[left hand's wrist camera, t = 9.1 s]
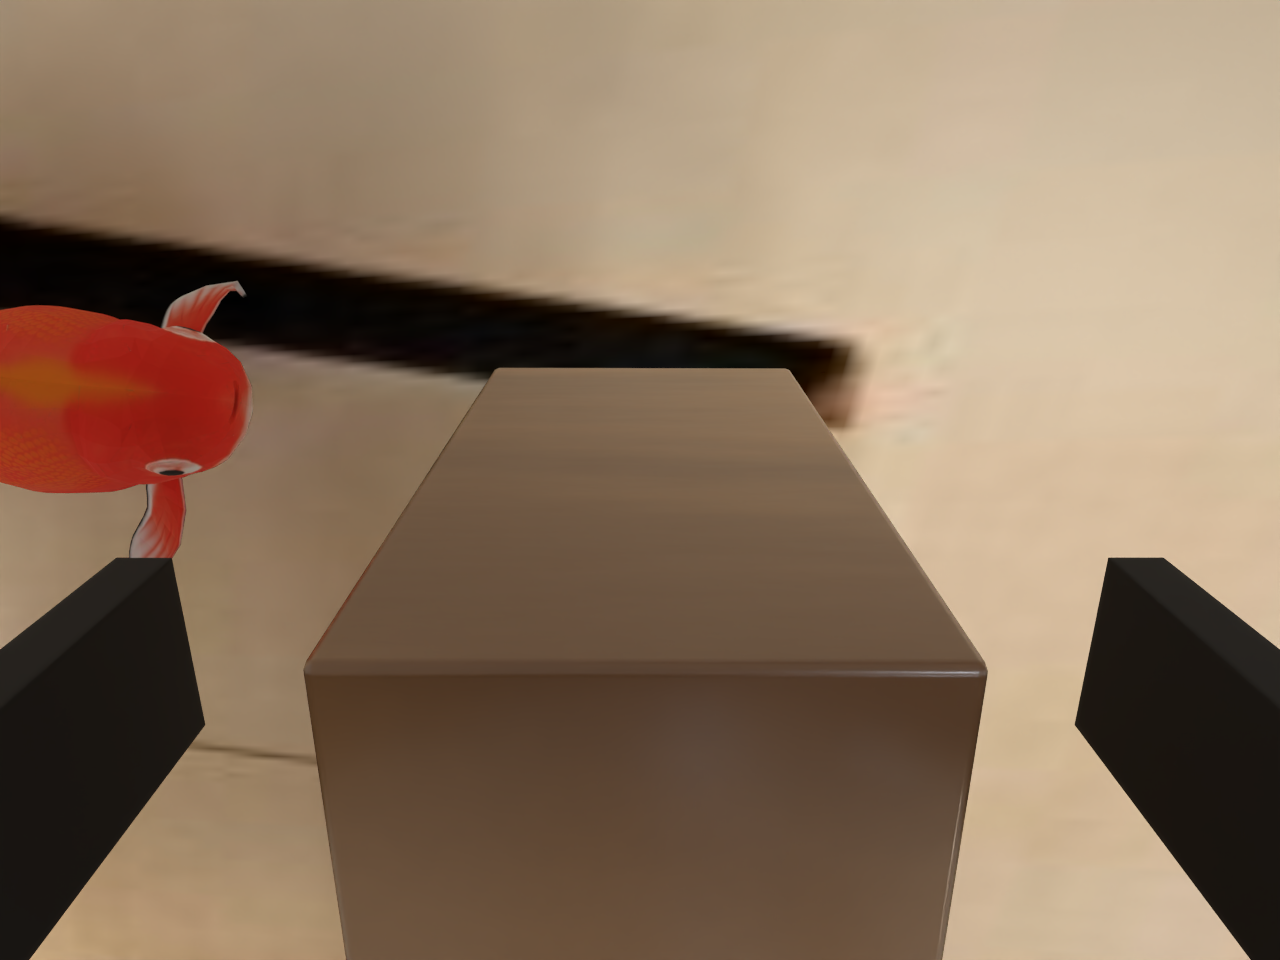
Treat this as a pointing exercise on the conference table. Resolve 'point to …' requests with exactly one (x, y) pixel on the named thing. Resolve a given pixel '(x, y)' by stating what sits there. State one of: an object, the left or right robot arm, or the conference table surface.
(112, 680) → the left robot arm
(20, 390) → the fish
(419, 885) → the bar
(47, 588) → the conference table surface
